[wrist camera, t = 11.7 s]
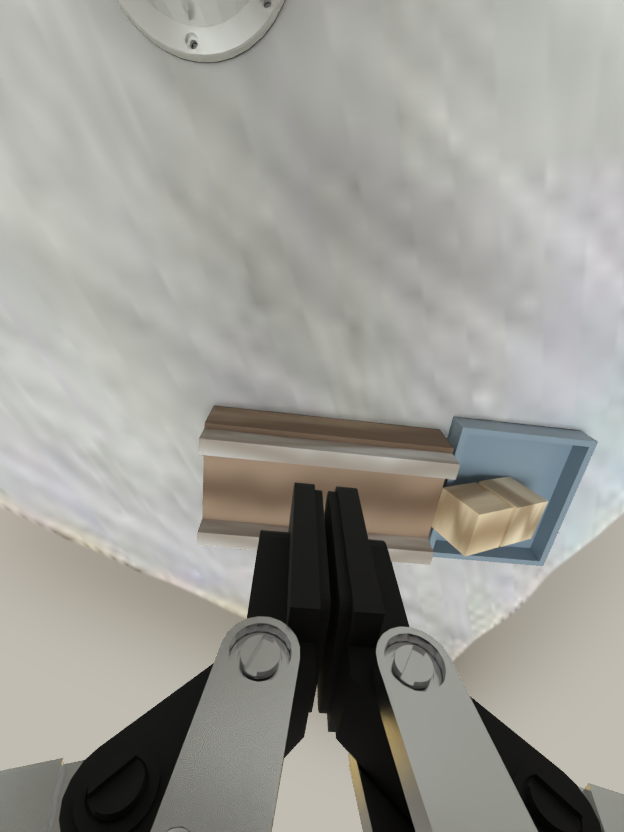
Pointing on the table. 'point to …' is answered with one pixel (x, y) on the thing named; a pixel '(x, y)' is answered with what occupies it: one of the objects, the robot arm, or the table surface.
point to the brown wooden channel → (320, 476)
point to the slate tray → (519, 477)
